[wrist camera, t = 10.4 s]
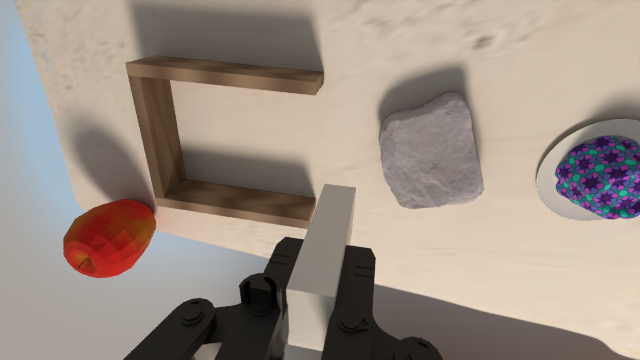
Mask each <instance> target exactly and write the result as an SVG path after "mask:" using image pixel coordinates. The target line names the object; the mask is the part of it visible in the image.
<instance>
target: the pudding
mask: <svg viewBox="0 0 640 360" xmlns="http://www.w3.org/2000/svg"><path fill="white" fill-rule="evenodd" d="M607 135H617V136H624V137H627V138H630V139H632V140H634V141H636V142H637V143H638V144H639V145H640V121H639V120H631V119H613V120H607V121H601V122H598V123H595V124H591V125H588V126H586V127H584V128H582V129H579V130H577V131H575V132H574V133H572V134H570V135H569V136H567V137H566V138H564V139H563V140H562V141H560V142H559V143H558V144H557V145H556V146H555V147H554V148H553V149H552V150H551V151H550V152H549V153H548V155H547V156H546V157H545V159H544V160H543V162H542V164H541V166H540V168H539V171H538V175H537V178H536V188H537V193H538V196H539V198H540V200H541V202H542V203H543V204H544V206H545V207H546V208H547V209H549V210H550V211H551V212H552V213H554V214H556V215H558V216H560V217H563V218H566V219H570V220H576V221H595V220H602V219H617V218H623V219H630V218H634V217H636V216H638V215H639V214H640V147H639V145H638V144H637V143H636V142H634V141H632V140H624V141H619V140H618V139H617V138H616V137H615V136H607ZM601 136H604V137H601ZM596 137H600V138H598V139H597V140H595V141H594V142H593V143H591V144H581V143H583V142H585V141H587V140H590V139H593V138H596ZM579 144H581V145H579ZM577 145H579V146H577ZM574 147H575V148H574ZM571 149H572V150H571ZM570 150H571V151H570ZM569 151H570V152H569ZM568 152H569V155H568V159H567V160H565V161H563V162H562V163H560V164H559V165H558V163H559V162H560V160H561V159H562V158H563V157H564V156H565V155H566V154H567V153H568ZM557 165H558V167H557ZM556 167H557V168H556ZM555 169H556V171H555ZM554 172H555V176H556V177H557V178H558V179H559V181H558V183H557V184H556V189H555V187H554V182H553V177H554ZM556 190H557V192H558V193H559V194H560V195H562V196H564V197H566V198H568V199H570V201H571V202H573V203H570V202H568V201H566V200H564V199H563V198H562V197H561V196H560V195H559V194H558V193H557V192H556ZM574 203H575V204H574Z"/></svg>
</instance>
